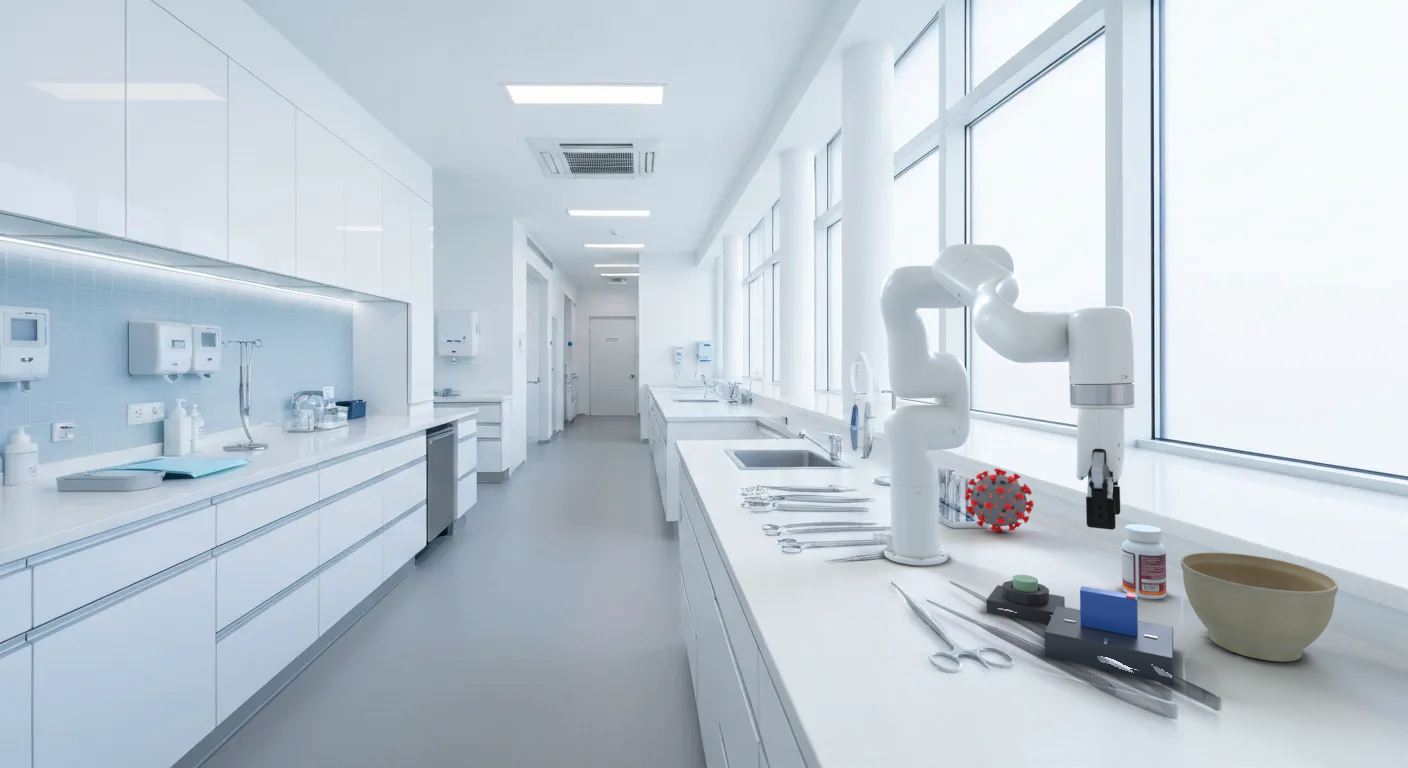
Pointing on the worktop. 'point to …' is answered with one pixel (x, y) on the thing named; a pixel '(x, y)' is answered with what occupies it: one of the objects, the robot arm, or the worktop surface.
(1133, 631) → the blue flat block
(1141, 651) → the panel
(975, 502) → the virus model
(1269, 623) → the planter bowl
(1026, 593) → the block
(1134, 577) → the pill bottle
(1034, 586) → the button
